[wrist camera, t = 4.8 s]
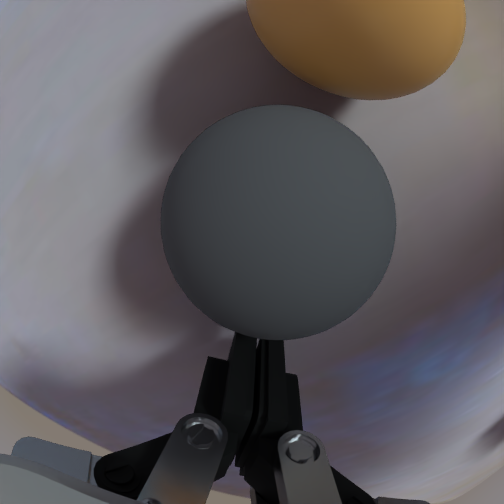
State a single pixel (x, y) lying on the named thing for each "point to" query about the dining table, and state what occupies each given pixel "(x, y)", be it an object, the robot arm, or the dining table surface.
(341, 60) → the object ball
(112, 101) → the dining table surface
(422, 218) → the dining table surface
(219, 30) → the dining table surface
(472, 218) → the dining table surface
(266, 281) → the dark grey ball
